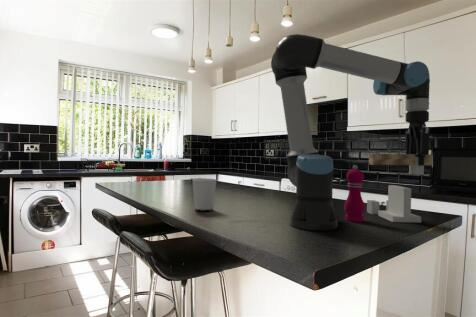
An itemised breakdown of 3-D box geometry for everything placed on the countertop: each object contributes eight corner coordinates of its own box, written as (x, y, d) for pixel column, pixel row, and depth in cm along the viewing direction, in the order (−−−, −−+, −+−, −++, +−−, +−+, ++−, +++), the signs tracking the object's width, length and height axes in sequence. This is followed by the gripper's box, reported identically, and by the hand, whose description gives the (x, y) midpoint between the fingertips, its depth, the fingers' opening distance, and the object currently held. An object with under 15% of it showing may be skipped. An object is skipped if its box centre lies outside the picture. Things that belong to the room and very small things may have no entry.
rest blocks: (371, 214, 128) (372, 201, 128) (366, 212, 133) (367, 200, 133) (399, 214, 128) (399, 202, 128) (393, 212, 133) (393, 200, 133)
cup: (188, 209, 134) (189, 178, 133) (211, 207, 138) (211, 178, 137) (196, 213, 125) (196, 180, 124) (219, 211, 129) (220, 180, 128)
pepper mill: (361, 218, 119) (362, 164, 119) (367, 222, 112) (368, 165, 112) (341, 217, 120) (342, 164, 119) (346, 222, 113) (347, 165, 112)
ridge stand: (392, 222, 114) (393, 188, 114) (378, 215, 126) (378, 185, 126) (421, 222, 114) (421, 188, 114) (403, 216, 126) (404, 185, 125)
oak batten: (372, 164, 118) (372, 153, 118) (368, 164, 121) (369, 153, 121) (432, 165, 118) (432, 154, 118) (427, 164, 121) (427, 154, 121)
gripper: (441, 108, 111) (440, 175, 111) (415, 114, 127) (414, 173, 128) (419, 108, 111) (418, 175, 111) (396, 114, 127) (395, 172, 128)
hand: (416, 174), depth 119 cm, fingers closed on oak batten, 3 cm apart
